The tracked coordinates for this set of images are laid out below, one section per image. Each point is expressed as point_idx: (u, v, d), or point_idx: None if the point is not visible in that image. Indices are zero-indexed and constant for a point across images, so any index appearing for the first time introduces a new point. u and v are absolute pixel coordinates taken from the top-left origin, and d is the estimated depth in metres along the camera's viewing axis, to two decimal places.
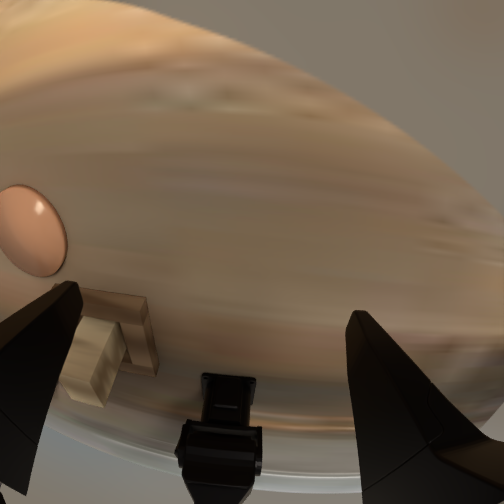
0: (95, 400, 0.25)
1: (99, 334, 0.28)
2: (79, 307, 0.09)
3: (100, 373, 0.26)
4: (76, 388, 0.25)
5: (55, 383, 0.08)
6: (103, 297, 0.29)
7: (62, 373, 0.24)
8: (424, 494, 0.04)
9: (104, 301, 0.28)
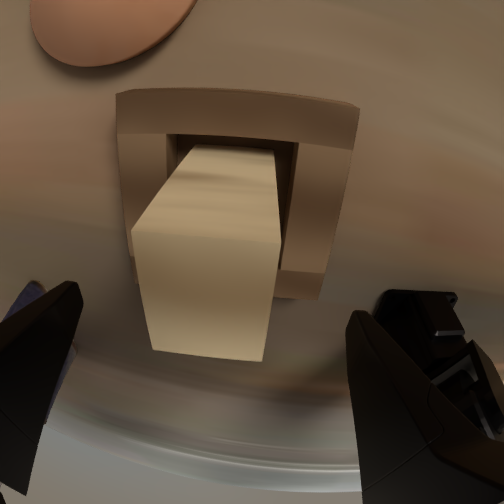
0: (248, 334, 0.10)
1: (249, 167, 0.13)
2: (79, 307, 0.09)
3: None
4: (201, 292, 0.09)
5: (55, 383, 0.08)
6: (262, 92, 0.13)
7: (165, 231, 0.08)
8: (424, 495, 0.04)
9: (270, 94, 0.13)
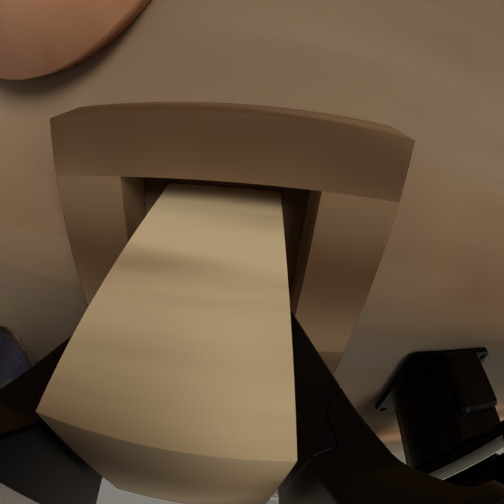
0: (241, 501, 0.06)
1: (243, 235, 0.08)
2: None
3: None
4: (165, 478, 0.05)
5: None
6: (265, 109, 0.09)
7: (87, 422, 0.04)
8: None
9: (277, 113, 0.08)
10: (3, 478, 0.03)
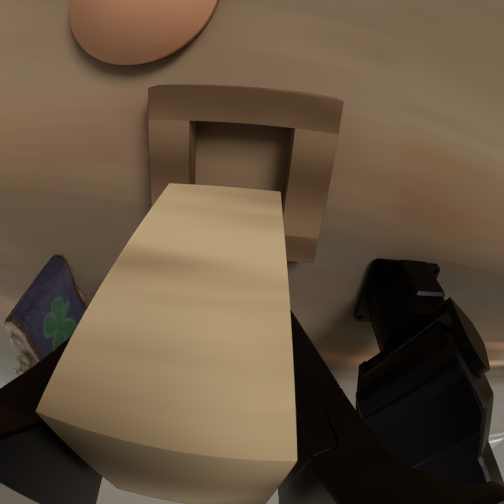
0: (241, 501, 0.06)
1: (243, 235, 0.08)
2: None
3: None
4: (165, 477, 0.05)
5: None
6: (266, 89, 0.17)
7: (87, 422, 0.04)
8: None
9: (272, 90, 0.16)
10: (3, 478, 0.03)
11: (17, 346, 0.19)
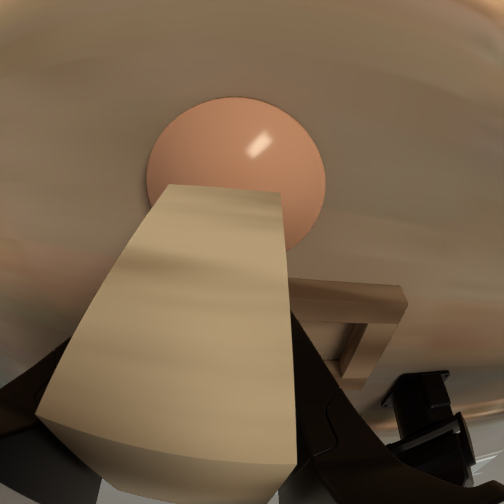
0: (241, 503, 0.06)
1: (243, 236, 0.08)
2: None
3: None
4: (165, 479, 0.05)
5: None
6: (349, 290, 0.21)
7: (86, 425, 0.04)
8: None
9: (355, 295, 0.20)
10: (3, 478, 0.03)
11: None
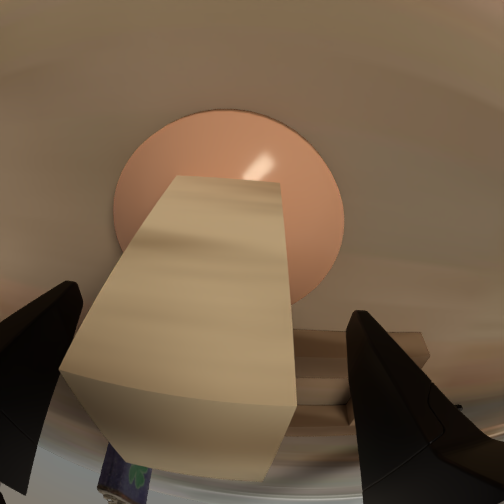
0: (245, 468, 0.06)
1: (246, 219, 0.09)
2: (79, 307, 0.09)
3: None
4: (175, 438, 0.05)
5: (54, 383, 0.08)
6: None
7: (107, 375, 0.04)
8: (425, 494, 0.04)
9: None
10: None
11: None
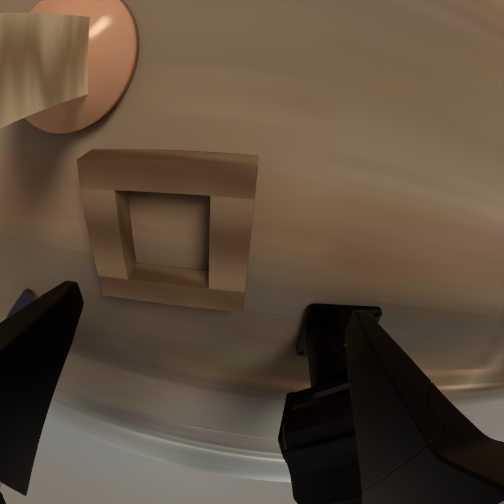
0: None
1: None
2: (79, 307, 0.09)
3: (11, 44, 0.07)
4: None
5: (55, 383, 0.08)
6: (184, 155, 0.18)
7: None
8: (425, 495, 0.04)
9: (187, 158, 0.17)
10: None
11: None
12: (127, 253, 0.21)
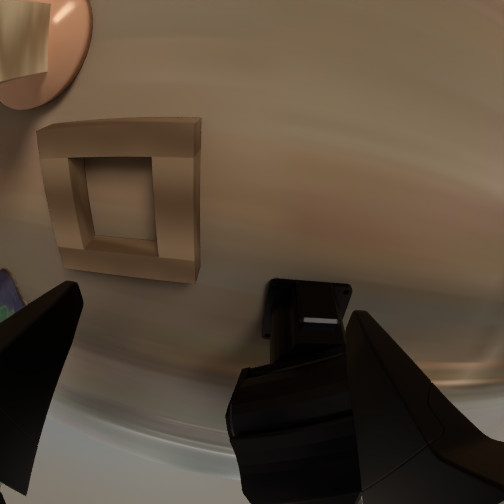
0: None
1: None
2: (79, 307, 0.09)
3: None
4: None
5: (55, 383, 0.08)
6: (129, 120, 0.17)
7: None
8: (424, 494, 0.04)
9: (131, 121, 0.16)
10: None
11: None
12: (83, 223, 0.20)
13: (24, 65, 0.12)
